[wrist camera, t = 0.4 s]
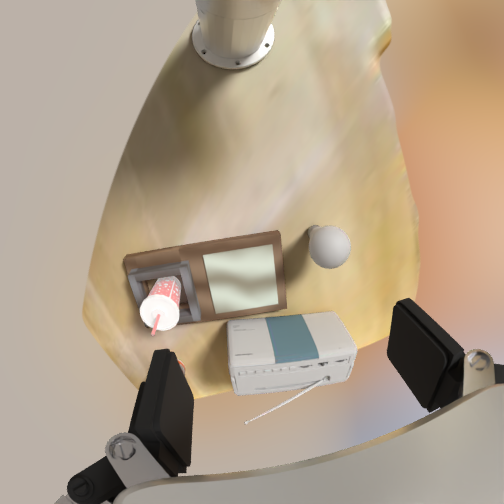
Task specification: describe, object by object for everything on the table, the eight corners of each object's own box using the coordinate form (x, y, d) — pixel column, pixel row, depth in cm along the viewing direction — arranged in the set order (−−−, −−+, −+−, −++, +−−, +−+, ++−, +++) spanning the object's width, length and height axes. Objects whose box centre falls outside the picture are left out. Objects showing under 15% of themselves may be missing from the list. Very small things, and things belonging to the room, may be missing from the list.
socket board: (126, 254, 44) (118, 265, 40) (278, 230, 46) (283, 238, 41) (149, 321, 50) (144, 336, 46) (284, 302, 51) (289, 316, 47)
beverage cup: (145, 287, 47) (123, 335, 34) (164, 263, 46) (144, 307, 33) (173, 306, 49) (160, 358, 36) (192, 284, 48) (183, 333, 35)
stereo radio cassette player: (333, 305, 52) (377, 375, 34) (328, 337, 56) (364, 409, 37) (225, 314, 51) (229, 398, 32) (228, 347, 54) (233, 430, 35)
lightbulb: (297, 250, 47) (317, 279, 37) (294, 216, 45) (314, 237, 35) (331, 244, 48) (357, 270, 37) (328, 210, 45) (357, 229, 35)
